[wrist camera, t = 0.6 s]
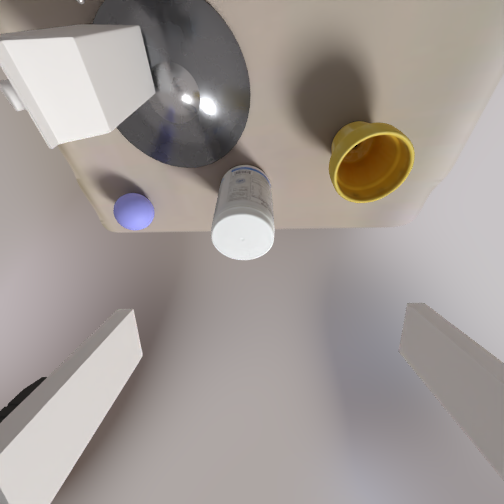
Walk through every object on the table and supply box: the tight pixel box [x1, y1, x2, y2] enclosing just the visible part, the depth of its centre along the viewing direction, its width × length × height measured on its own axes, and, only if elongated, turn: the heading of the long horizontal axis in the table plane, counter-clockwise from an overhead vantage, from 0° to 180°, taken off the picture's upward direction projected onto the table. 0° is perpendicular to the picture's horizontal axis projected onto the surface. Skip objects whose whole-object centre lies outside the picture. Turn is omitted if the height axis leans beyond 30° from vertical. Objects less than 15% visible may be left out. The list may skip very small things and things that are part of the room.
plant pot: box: [329, 121, 415, 203], centre depth 36 cm, size 10×10×10 cm
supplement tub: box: [211, 165, 274, 260], centre depth 40 cm, size 10×10×15 cm
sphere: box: [114, 193, 154, 230], centre depth 46 cm, size 7×7×7 cm
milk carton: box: [0, 24, 155, 149], centre depth 25 cm, size 7×7×19 cm
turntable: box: [93, 0, 250, 168], centre depth 35 cm, size 22×22×1 cm
